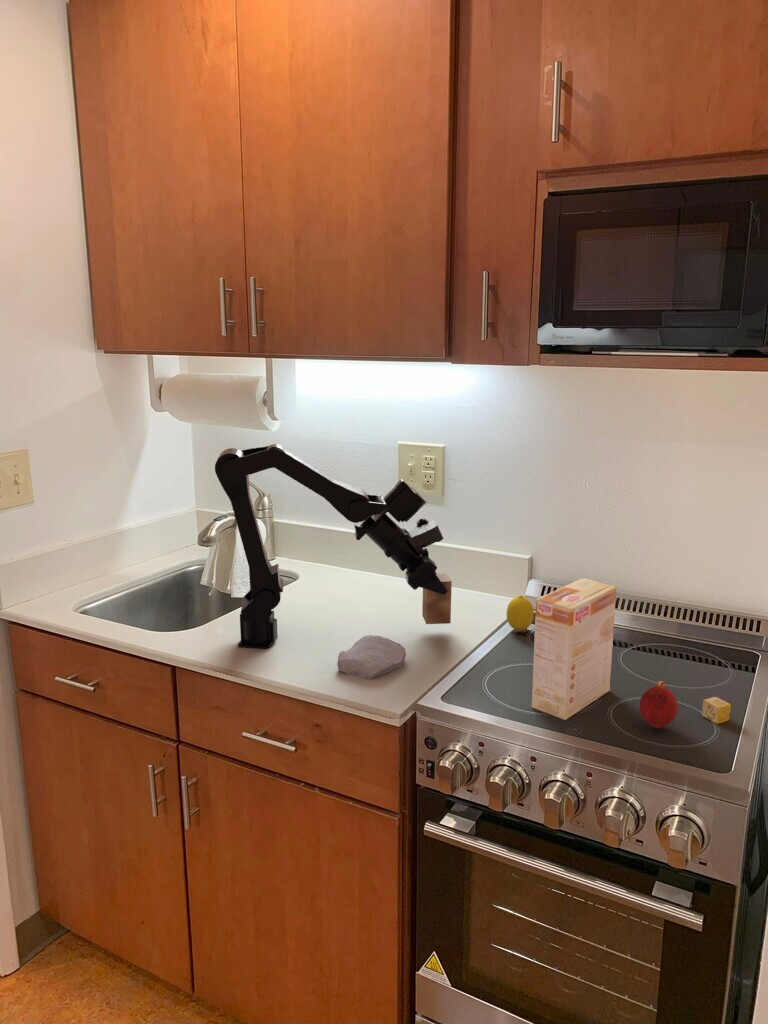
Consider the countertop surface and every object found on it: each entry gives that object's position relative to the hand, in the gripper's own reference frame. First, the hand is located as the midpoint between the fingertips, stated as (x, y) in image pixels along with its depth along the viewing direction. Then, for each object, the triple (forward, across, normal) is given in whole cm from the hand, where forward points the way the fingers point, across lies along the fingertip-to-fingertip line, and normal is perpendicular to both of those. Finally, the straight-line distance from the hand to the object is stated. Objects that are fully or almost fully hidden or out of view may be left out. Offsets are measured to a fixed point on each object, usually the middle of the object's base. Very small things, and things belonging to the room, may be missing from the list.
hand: (443, 588), depth 166 cm
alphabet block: (+34, -40, -20) cm, 56 cm away
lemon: (+18, -1, -4) cm, 19 cm away
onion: (+26, -42, -12) cm, 51 cm away
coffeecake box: (+19, -31, -5) cm, 37 cm away
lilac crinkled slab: (-4, -14, +18) cm, 23 cm away
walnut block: (+4, 0, +6) cm, 7 cm away
